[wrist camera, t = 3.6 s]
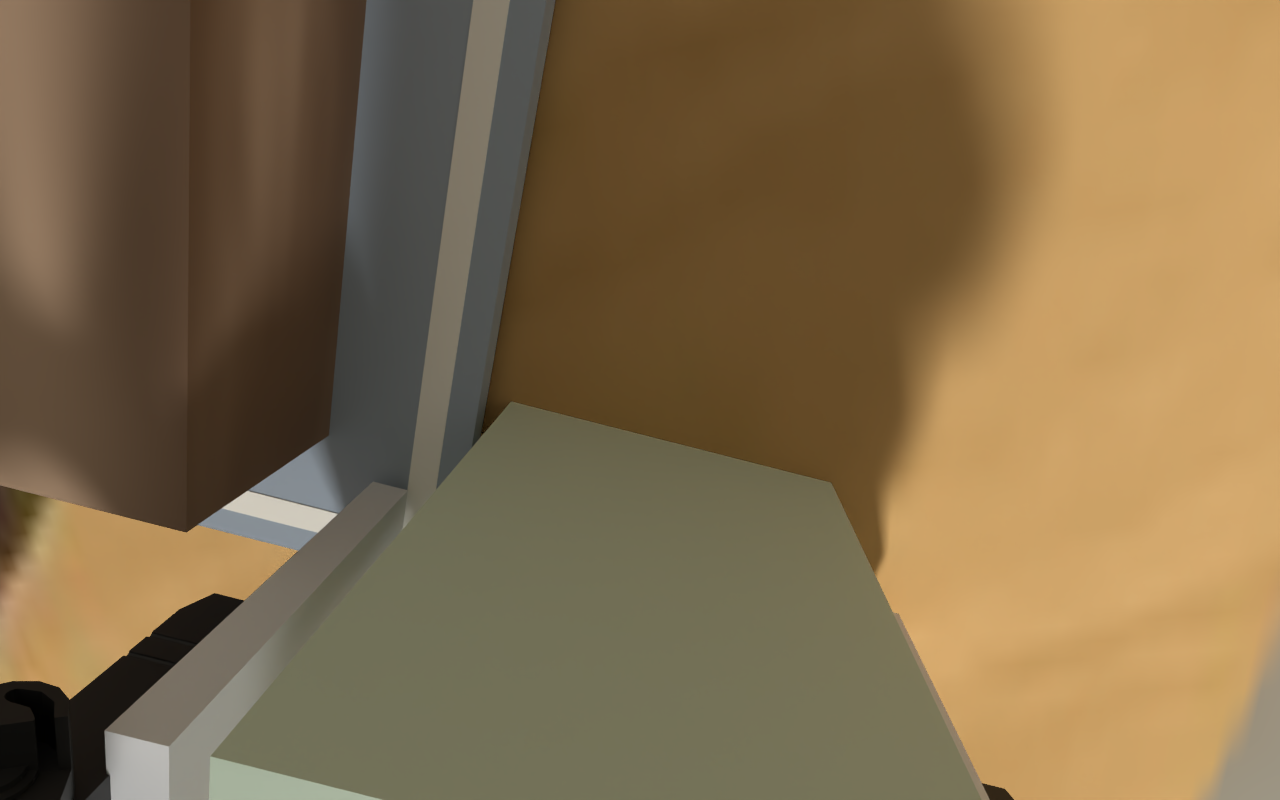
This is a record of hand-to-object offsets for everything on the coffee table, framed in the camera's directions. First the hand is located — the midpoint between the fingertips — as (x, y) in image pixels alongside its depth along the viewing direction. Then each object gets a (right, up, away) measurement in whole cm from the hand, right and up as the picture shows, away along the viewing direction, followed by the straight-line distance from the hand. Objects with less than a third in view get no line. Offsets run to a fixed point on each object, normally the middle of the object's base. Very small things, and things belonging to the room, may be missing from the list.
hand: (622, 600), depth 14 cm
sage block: (0, 0, +1) cm, 1 cm away
